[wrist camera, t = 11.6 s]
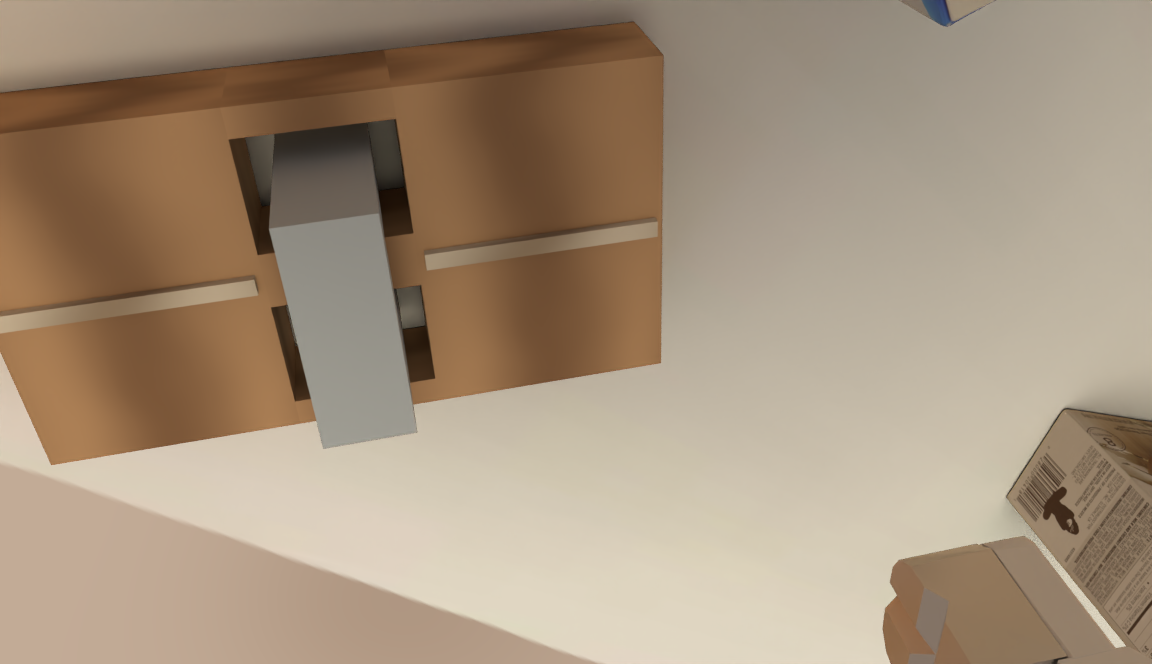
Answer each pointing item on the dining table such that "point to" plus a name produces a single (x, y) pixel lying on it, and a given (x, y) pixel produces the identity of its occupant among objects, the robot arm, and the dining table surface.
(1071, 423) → the coffee box
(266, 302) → the wooden compartment tray
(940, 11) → the medicine box
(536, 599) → the dining table surface
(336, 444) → the grey u-shaped block
